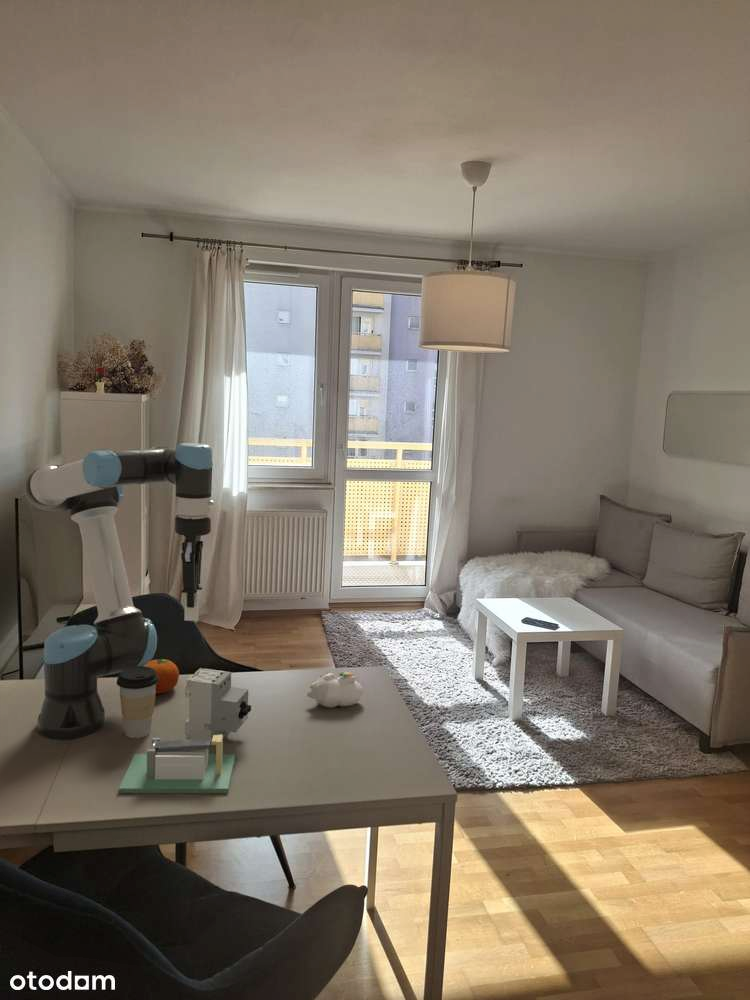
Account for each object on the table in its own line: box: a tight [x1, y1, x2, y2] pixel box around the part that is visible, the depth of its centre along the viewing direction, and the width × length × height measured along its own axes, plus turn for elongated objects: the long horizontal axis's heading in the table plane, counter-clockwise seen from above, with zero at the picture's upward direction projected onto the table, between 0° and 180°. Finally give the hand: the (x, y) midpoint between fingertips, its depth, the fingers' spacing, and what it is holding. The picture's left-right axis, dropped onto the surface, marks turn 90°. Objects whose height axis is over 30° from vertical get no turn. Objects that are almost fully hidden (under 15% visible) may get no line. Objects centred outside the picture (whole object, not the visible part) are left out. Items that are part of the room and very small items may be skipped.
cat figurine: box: [306, 671, 364, 708], centre depth 195 cm, size 10×8×15 cm
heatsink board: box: [118, 735, 236, 794], centre depth 157 cm, size 22×14×8 cm, turn 95°
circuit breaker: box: [184, 667, 252, 745], centre depth 174 cm, size 8×14×15 cm, turn 78°
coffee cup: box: [116, 665, 159, 739], centre depth 174 cm, size 9×9×15 cm
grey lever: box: [149, 739, 212, 751], centre depth 157 cm, size 13×3×1 cm, turn 95°
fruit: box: [142, 658, 180, 694], centre depth 198 cm, size 11×10×8 cm
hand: (191, 619), depth 163 cm, fingers closed
